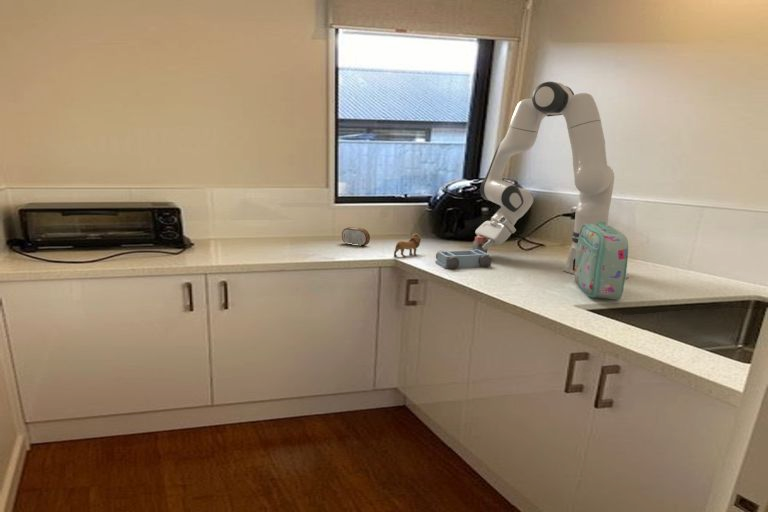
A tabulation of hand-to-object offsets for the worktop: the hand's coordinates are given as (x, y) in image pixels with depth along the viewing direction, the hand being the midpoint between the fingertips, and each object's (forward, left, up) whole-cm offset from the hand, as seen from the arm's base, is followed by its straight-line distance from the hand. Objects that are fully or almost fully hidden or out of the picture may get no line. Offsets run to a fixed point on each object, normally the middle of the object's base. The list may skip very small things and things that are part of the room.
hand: (478, 246), depth 196 cm
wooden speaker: (+41, +44, -5) cm, 61 cm away
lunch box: (-54, -16, -5) cm, 56 cm away
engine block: (0, -1, -5) cm, 5 cm away
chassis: (-9, +10, -5) cm, 14 cm away
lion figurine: (+13, +27, -5) cm, 30 cm away
